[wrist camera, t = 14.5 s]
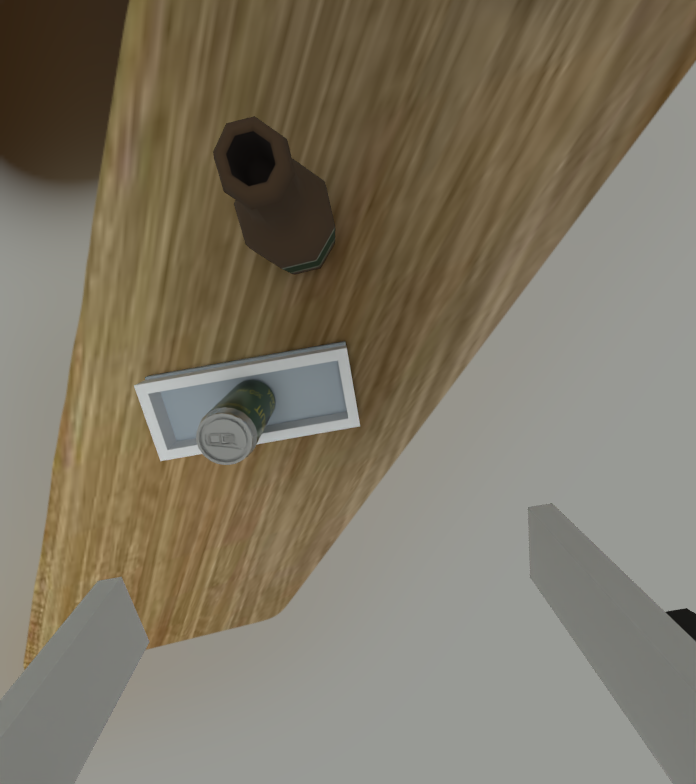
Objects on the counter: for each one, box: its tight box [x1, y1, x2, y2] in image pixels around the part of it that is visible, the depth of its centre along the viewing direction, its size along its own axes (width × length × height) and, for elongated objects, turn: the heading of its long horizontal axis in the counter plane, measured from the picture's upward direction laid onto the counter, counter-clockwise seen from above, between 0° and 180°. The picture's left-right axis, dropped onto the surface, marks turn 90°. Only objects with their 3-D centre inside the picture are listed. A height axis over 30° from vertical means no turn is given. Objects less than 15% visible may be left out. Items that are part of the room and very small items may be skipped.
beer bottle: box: [213, 116, 335, 274], centre depth 27 cm, size 8×8×24 cm
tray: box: [134, 341, 360, 461], centre depth 42 cm, size 10×24×4 cm, turn 100°
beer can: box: [196, 380, 276, 465], centre depth 37 cm, size 5×5×12 cm
